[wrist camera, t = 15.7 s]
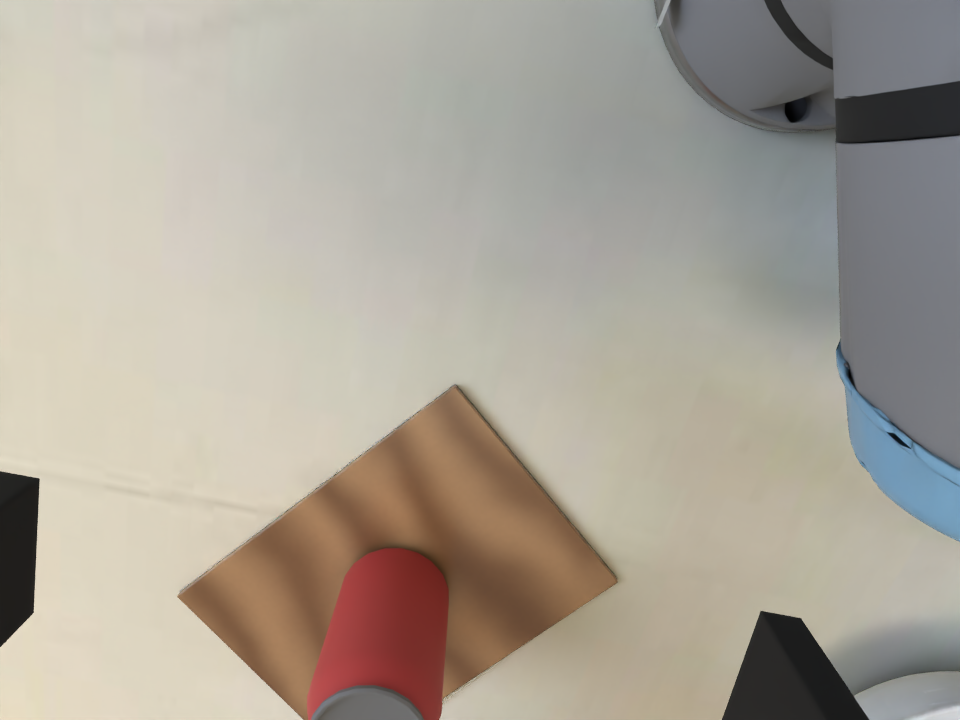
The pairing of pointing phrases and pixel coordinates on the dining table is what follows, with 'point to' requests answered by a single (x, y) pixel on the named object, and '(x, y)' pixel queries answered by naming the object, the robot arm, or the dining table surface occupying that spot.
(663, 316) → the dining table surface
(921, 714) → the serving bowl
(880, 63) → the robot arm
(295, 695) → the wooden cutting board
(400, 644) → the beer can
